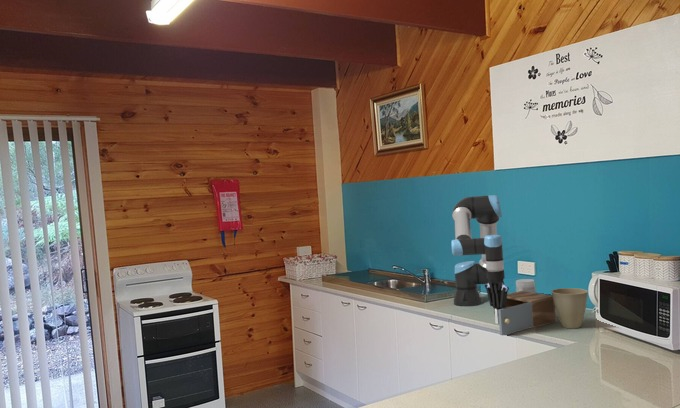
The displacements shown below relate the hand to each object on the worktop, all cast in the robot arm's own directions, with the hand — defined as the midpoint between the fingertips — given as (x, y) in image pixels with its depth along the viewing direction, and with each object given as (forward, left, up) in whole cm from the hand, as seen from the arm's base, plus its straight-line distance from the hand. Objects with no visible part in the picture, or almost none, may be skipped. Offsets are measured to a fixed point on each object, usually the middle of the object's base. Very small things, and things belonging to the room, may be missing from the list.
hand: (499, 323), depth 237 cm
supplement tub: (-26, +43, -5) cm, 51 cm away
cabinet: (-7, +25, -5) cm, 26 cm away
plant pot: (+13, +30, -5) cm, 33 cm away
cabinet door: (+4, +7, -4) cm, 9 cm away
